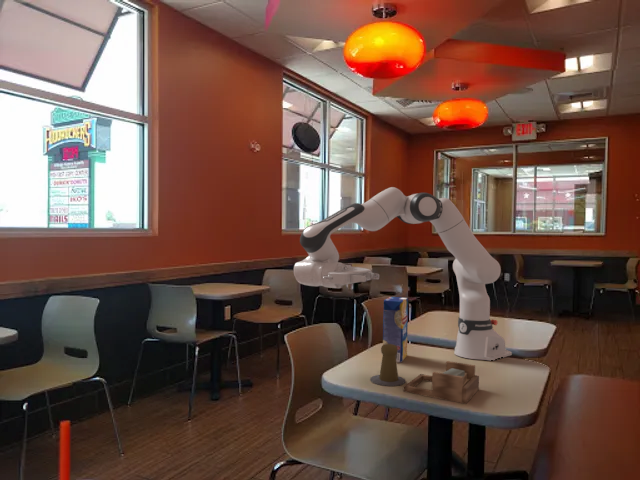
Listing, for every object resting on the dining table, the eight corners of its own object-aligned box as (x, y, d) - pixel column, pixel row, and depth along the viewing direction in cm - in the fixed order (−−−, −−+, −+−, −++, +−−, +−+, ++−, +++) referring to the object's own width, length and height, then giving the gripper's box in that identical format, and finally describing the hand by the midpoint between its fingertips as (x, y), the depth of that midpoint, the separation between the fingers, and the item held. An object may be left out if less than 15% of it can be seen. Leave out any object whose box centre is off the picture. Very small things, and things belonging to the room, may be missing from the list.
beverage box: (407, 355, 185) (408, 297, 185) (401, 362, 175) (402, 301, 174) (389, 353, 188) (390, 296, 187) (382, 360, 177) (383, 300, 177)
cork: (396, 376, 158) (396, 342, 157) (400, 381, 152) (400, 346, 151) (377, 376, 157) (378, 342, 157) (380, 381, 151) (381, 346, 151)
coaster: (391, 373, 161) (391, 372, 161) (412, 383, 151) (412, 382, 151) (363, 378, 156) (363, 377, 156) (384, 388, 146) (384, 387, 146)
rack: (403, 391, 144) (403, 367, 143) (420, 378, 156) (421, 356, 156) (465, 403, 134) (466, 378, 134) (478, 389, 147) (479, 366, 147)
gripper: (319, 267, 157) (358, 270, 149) (349, 264, 174) (385, 266, 167) (319, 287, 157) (357, 290, 150) (349, 281, 174) (384, 284, 167)
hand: (372, 277), depth 158 cm, fingers open, 8 cm apart
